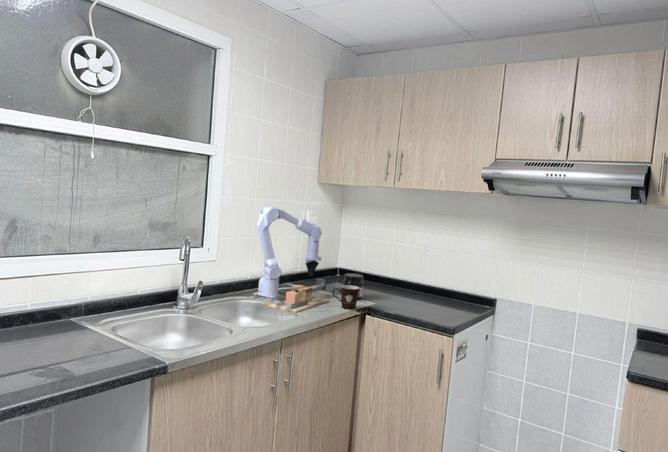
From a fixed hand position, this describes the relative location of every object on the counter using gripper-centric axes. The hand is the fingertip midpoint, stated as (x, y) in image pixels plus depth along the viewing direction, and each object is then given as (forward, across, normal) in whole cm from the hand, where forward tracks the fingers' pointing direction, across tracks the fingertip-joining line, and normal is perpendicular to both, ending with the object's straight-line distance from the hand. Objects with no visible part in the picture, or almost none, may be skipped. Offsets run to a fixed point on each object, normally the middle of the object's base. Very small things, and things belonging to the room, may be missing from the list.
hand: (310, 275), depth 238 cm
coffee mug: (+10, -9, -26) cm, 29 cm away
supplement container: (+10, +11, -19) cm, 24 cm away
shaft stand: (+10, -19, -6) cm, 23 cm away
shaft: (+6, -8, -6) cm, 12 cm away
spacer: (+6, -23, -6) cm, 25 cm away
